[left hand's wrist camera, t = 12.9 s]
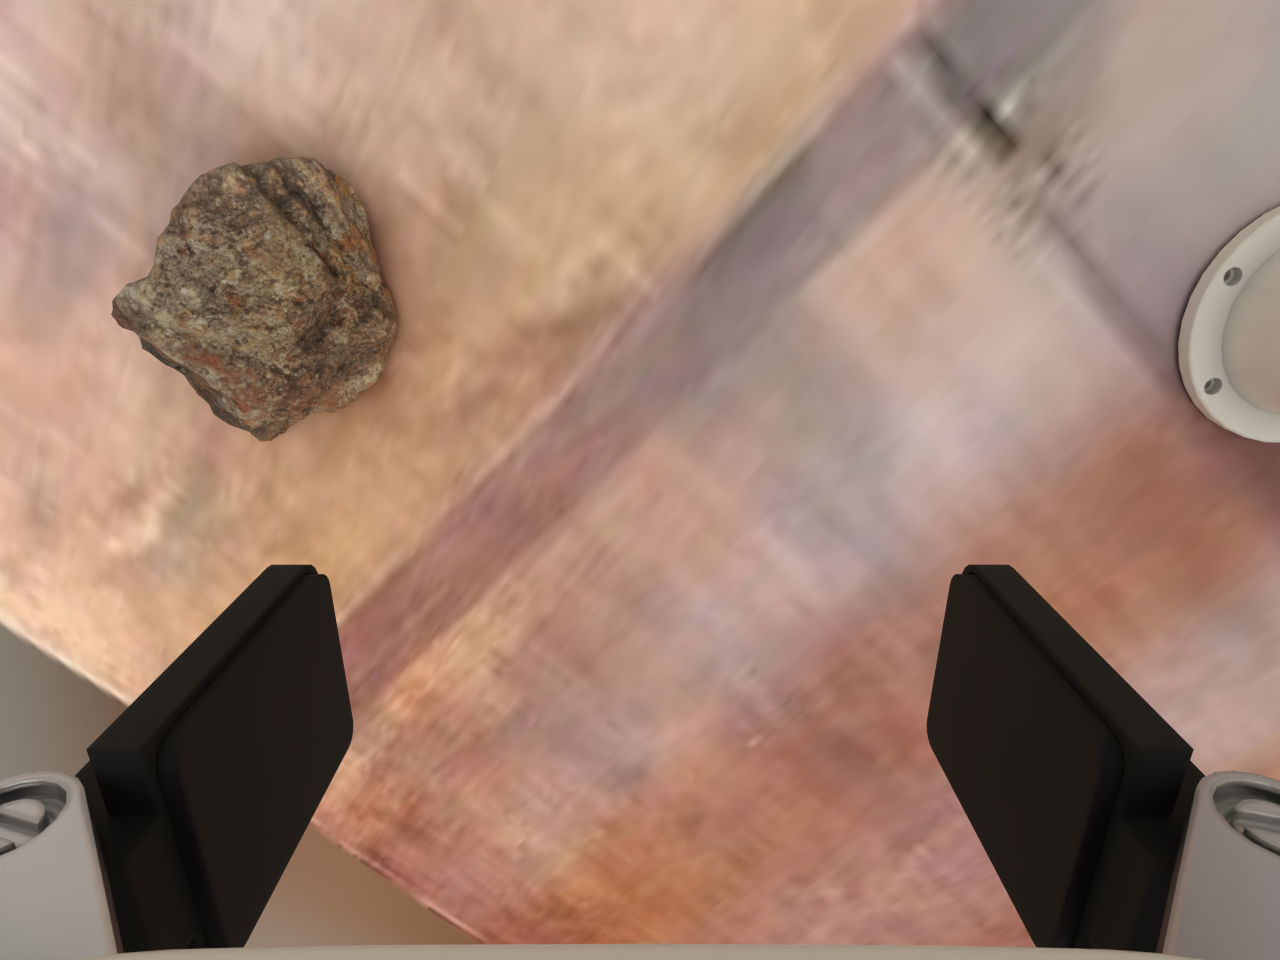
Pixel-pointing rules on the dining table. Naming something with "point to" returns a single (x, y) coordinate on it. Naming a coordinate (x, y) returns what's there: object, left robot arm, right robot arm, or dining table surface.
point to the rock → (266, 295)
